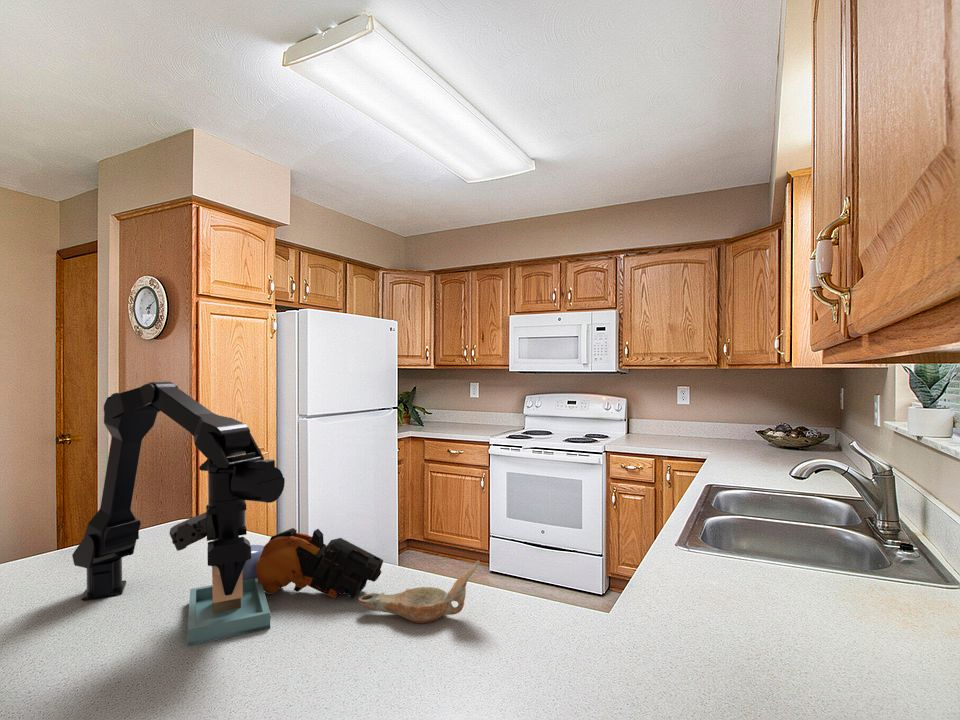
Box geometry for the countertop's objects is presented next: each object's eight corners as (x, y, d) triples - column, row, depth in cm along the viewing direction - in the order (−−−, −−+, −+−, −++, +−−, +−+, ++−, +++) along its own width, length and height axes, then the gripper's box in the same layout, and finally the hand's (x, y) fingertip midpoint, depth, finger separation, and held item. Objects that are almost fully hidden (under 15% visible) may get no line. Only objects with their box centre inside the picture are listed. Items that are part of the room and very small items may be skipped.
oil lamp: (476, 632, 88) (475, 569, 88) (349, 625, 91) (348, 565, 91) (484, 608, 96) (483, 551, 96) (368, 603, 99) (367, 547, 100)
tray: (190, 602, 101) (190, 588, 101) (260, 589, 106) (260, 576, 106) (187, 646, 85) (187, 629, 85) (270, 628, 90) (270, 612, 90)
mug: (212, 586, 108) (211, 550, 109) (265, 576, 113) (264, 542, 113) (212, 599, 102) (212, 561, 102) (268, 588, 107) (268, 552, 107)
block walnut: (239, 598, 101) (239, 573, 101) (241, 607, 97) (240, 582, 97) (212, 603, 99) (212, 578, 99) (212, 612, 95) (212, 586, 95)
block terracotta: (241, 588, 96) (240, 562, 96) (242, 597, 92) (242, 570, 92) (212, 593, 94) (212, 567, 94) (212, 603, 90) (212, 575, 90)
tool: (347, 644, 99) (376, 568, 98) (240, 589, 102) (267, 515, 101) (365, 622, 107) (391, 552, 105) (265, 572, 110) (290, 504, 109)
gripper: (175, 492, 98) (176, 580, 98) (169, 516, 81) (170, 622, 81) (243, 485, 103) (244, 568, 103) (250, 507, 86) (251, 606, 86)
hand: (227, 589), depth 93 cm, fingers closed on block terracotta, 4 cm apart
